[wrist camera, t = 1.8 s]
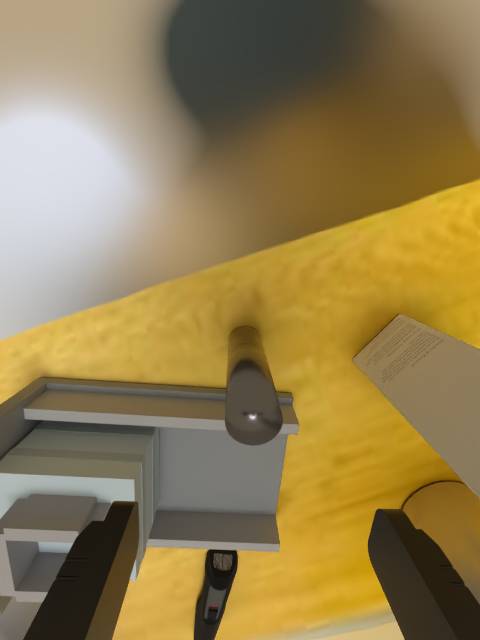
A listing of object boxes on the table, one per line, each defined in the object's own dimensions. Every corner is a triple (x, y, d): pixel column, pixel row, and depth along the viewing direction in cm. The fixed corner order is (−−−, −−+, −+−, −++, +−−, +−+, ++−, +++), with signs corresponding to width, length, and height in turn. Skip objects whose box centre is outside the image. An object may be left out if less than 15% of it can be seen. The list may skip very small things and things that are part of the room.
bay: (291, 392, 27) (317, 462, 19) (272, 518, 32) (287, 622, 23) (40, 377, 26) (-55, 442, 18) (55, 509, 31) (-15, 614, 22)
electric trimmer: (188, 628, 37) (184, 663, 34) (208, 543, 33) (205, 574, 30) (216, 631, 37) (215, 665, 34) (239, 547, 33) (240, 578, 30)
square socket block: (159, 418, 27) (121, 511, 17) (159, 502, 29) (125, 621, 20) (50, 412, 26) (-48, 504, 17) (60, 498, 29) (-21, 617, 20)
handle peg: (262, 327, 26) (286, 397, 14) (259, 357, 26) (279, 447, 15) (230, 324, 25) (226, 393, 14) (227, 355, 26) (222, 444, 15)
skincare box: (453, 364, 27) (726, 515, 12) (401, 409, 28) (590, 599, 13) (397, 309, 25) (632, 405, 10) (344, 360, 27) (487, 511, 12)
